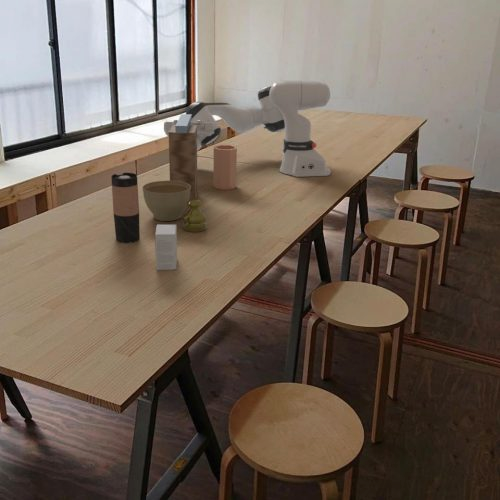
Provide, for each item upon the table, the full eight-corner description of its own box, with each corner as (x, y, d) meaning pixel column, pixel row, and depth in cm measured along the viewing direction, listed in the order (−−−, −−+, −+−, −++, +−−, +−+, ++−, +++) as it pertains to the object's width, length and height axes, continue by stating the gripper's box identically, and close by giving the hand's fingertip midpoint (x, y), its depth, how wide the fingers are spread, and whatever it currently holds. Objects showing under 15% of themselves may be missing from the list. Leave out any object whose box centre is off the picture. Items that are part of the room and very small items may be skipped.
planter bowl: (198, 213, 206) (198, 183, 202) (178, 227, 192) (178, 195, 188) (157, 207, 211) (156, 177, 207) (134, 221, 197) (133, 189, 193)
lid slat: (181, 120, 227) (181, 114, 226) (191, 120, 227) (191, 114, 226) (175, 132, 204) (175, 125, 204) (187, 133, 205) (186, 126, 204)
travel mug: (134, 244, 177) (131, 180, 170) (111, 242, 179) (106, 178, 171) (144, 235, 184) (141, 173, 177) (121, 233, 186) (117, 171, 178)
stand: (197, 192, 228) (196, 125, 219) (195, 203, 215) (194, 132, 206) (174, 192, 228) (172, 124, 218) (170, 203, 215) (168, 132, 205)
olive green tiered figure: (197, 234, 187) (197, 204, 183) (178, 229, 190) (178, 199, 187) (210, 227, 193) (210, 198, 189) (192, 223, 196) (192, 194, 192)
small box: (157, 258, 168) (156, 224, 164) (177, 258, 168) (176, 223, 164) (155, 270, 161) (154, 234, 157) (176, 270, 161) (175, 234, 157)
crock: (236, 183, 241) (236, 145, 235) (236, 190, 233) (236, 150, 227) (214, 183, 241) (214, 144, 235) (213, 189, 233) (213, 149, 227)
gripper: (214, 141, 250) (213, 130, 236) (165, 139, 249) (162, 128, 235) (214, 126, 251) (213, 115, 237) (166, 125, 250) (162, 113, 236)
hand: (187, 121), depth 236 cm, fingers open, 8 cm apart
